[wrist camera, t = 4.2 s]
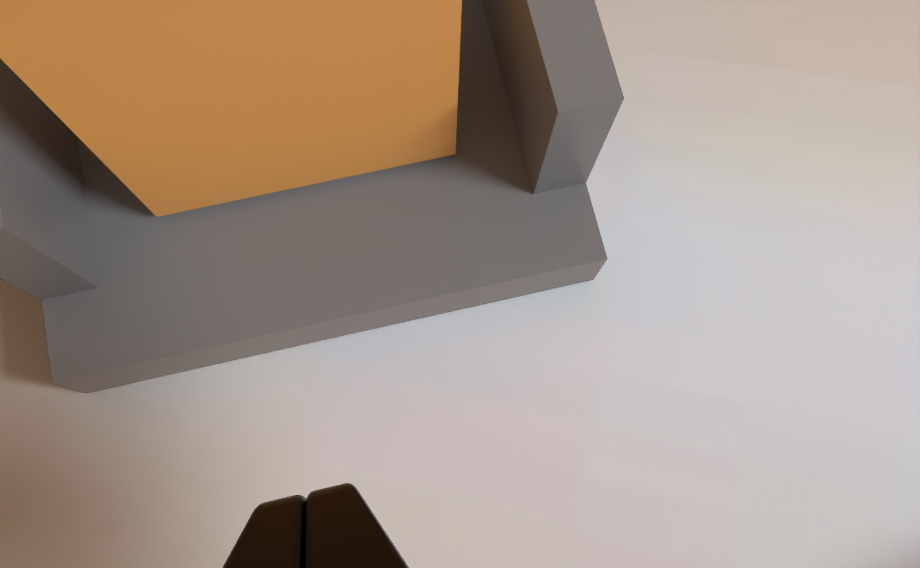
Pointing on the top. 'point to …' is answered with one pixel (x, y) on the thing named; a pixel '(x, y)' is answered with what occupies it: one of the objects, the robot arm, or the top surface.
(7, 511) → the top surface
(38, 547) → the top surface
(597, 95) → the base
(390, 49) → the breaker toggle
